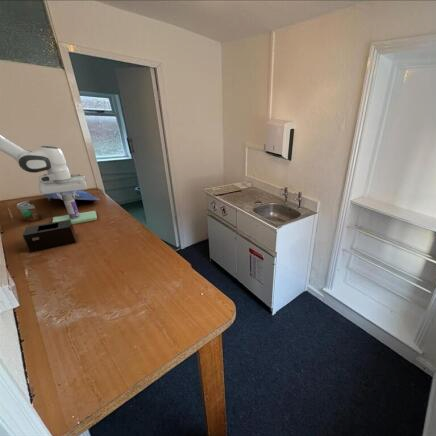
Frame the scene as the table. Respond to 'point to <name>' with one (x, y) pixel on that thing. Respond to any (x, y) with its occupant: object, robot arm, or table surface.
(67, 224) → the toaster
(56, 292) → the table surface
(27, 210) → the food container
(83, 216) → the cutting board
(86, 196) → the blue sloped panel
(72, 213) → the container
